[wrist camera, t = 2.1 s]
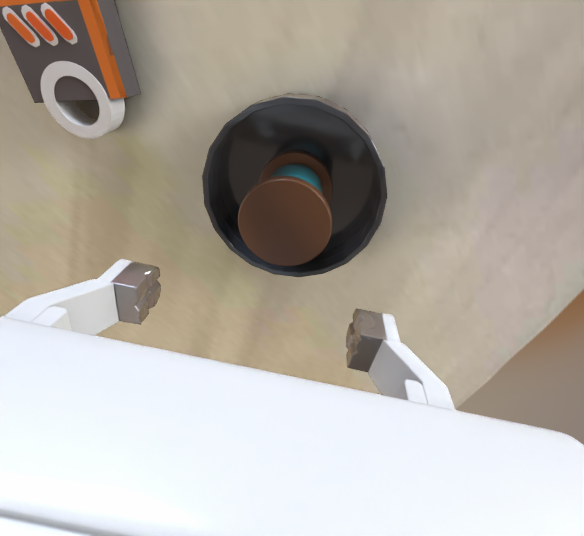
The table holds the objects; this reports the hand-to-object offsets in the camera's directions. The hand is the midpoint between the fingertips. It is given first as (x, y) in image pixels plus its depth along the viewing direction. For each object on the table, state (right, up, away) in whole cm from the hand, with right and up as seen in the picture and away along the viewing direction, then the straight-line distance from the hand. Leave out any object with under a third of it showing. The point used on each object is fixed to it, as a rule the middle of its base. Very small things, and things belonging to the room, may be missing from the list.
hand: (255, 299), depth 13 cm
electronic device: (-13, +18, +8) cm, 24 cm away
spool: (+2, +7, +12) cm, 14 cm away
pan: (+2, +8, +12) cm, 15 cm away
